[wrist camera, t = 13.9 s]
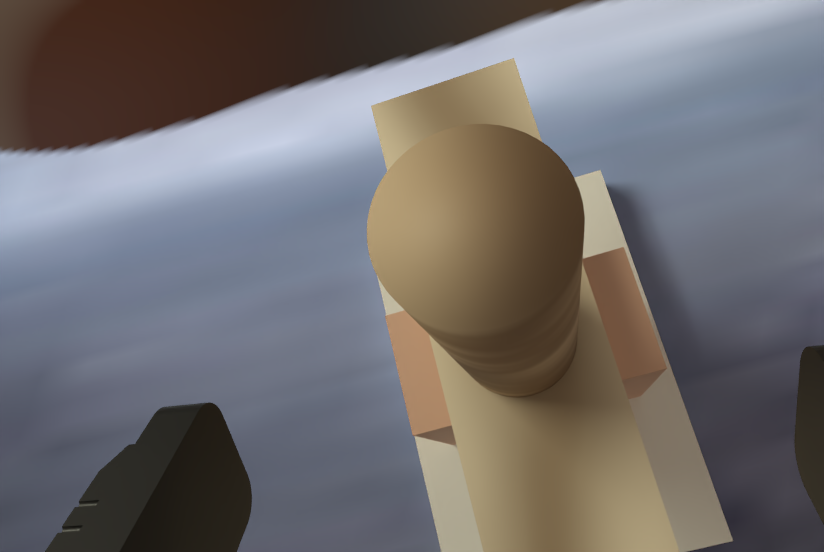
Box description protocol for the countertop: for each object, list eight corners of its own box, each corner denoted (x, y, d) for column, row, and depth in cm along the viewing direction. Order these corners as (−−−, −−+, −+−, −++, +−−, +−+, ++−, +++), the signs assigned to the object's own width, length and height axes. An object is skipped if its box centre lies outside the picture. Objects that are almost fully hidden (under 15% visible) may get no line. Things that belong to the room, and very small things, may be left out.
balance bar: (522, 676, 20) (466, 930, 9) (381, 126, 25) (241, -136, 14) (702, 638, 19) (882, 860, 8) (517, 82, 24) (476, -228, 14)
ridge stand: (459, 598, 29) (411, 653, 20) (377, 250, 34) (310, 171, 25) (724, 537, 28) (798, 567, 19) (598, 183, 33) (610, 74, 24)
